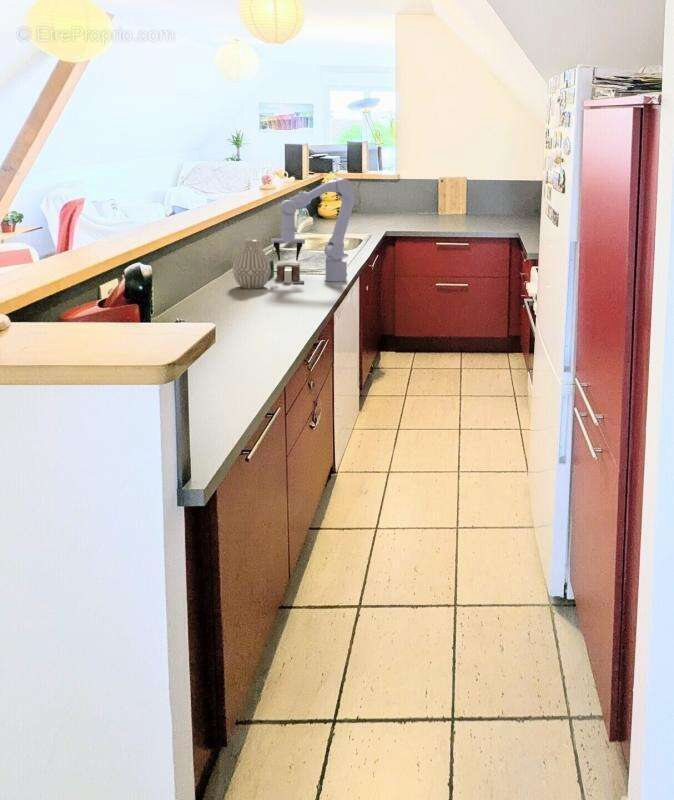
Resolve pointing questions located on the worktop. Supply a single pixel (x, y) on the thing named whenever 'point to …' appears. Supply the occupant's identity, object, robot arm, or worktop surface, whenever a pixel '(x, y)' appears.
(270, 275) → the bracket
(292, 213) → the robot arm
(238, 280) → the vase
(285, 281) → the cream flat block piece
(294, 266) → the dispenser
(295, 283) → the mat
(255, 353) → the worktop surface
